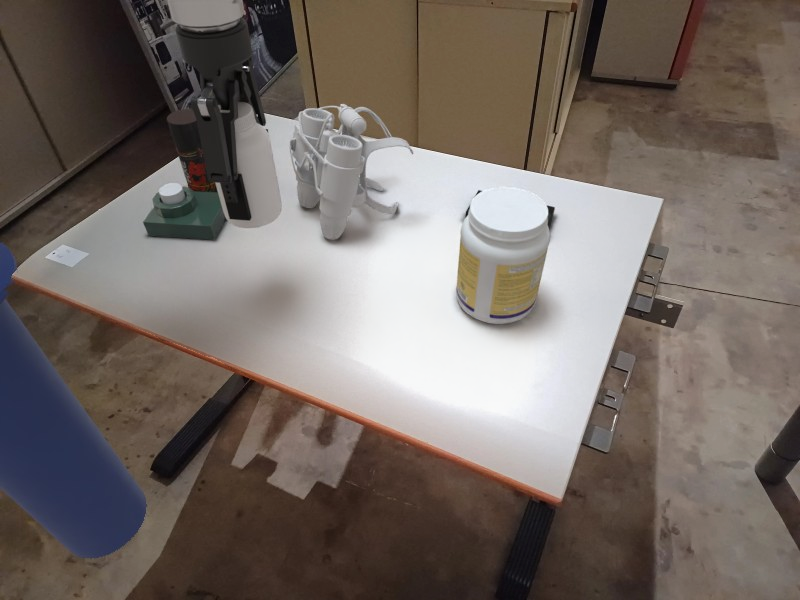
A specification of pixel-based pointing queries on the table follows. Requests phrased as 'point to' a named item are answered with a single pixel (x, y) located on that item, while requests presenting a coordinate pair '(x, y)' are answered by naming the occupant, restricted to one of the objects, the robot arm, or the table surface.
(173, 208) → the button base
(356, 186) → the rocket backpack
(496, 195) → the supplement tub
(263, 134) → the pill bottle
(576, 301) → the table surface
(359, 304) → the table surface
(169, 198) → the white button cap
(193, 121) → the deodorant
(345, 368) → the table surface
